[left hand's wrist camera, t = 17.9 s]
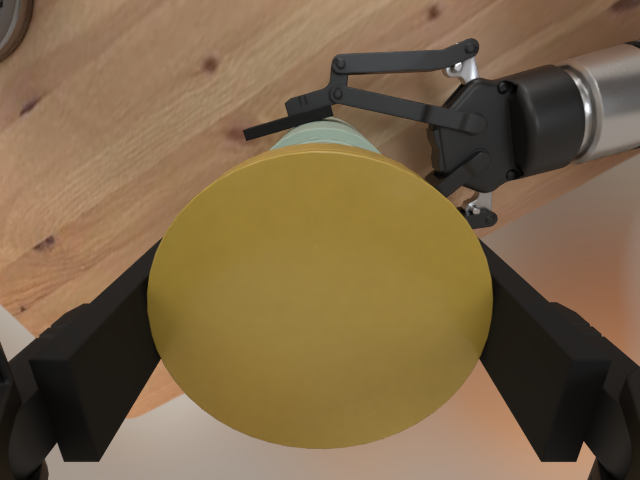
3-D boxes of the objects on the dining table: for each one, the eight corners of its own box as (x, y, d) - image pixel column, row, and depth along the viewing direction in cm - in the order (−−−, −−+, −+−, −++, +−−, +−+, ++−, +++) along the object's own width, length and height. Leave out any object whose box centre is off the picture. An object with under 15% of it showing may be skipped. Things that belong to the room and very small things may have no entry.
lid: (104, 253, 11) (70, 278, 10) (377, 68, 9) (388, 64, 8) (281, 445, 14) (277, 487, 13) (517, 333, 12) (544, 367, 11)
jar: (390, 167, 35) (436, 214, 21) (321, 230, 37) (321, 310, 23) (324, 93, 33) (326, 90, 19) (255, 165, 35) (210, 210, 21)
